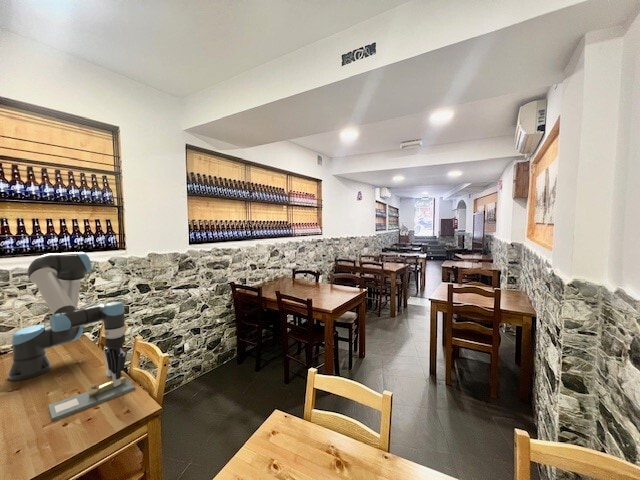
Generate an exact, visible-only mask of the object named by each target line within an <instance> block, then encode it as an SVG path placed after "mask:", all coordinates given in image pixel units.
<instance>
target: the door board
mask: <svg viewBox="0 0 640 480" xmlns="http://www.w3.org/2000/svg"><path fill="white" fill-rule="evenodd" d="M135 389H136V387H135V385H134V384H133V383H132V381H131V380H130V379H129V378H128V377H126V382H125V383H123V384H121V385H118V386H116V387H114V388H111V389H109V390H106V391H104V392H102V393H99V394H98V395H96V396H94V397H89V390H88V391H85V392H82V393H80V394H77V395H76V394H75V395H74V396H71V397H68V398H65V399H62V400H59V401H57V402H53V403H51V404H48V411H49V415H50V418H51V421H52V422H54V421H57V420H59V419H61V418H64V417H68V416H70V415H72V414H74V413H77V412H81V411H83V410H86V409H88V408H90V407H94V406H96V405H98V404H101V403H103V402H106V401H108V400H112V399H114V398H116V397H119V396H121V395H124V394H126V393H129V392H131V391H135Z"/></svg>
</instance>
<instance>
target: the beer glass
mask: <svg viewBox="0 0 640 480" xmlns="http://www.w3.org/2000/svg"><path fill="white" fill-rule="evenodd" d="M104 346H105V345H104ZM107 348H108V347H106V346H105V347H104V350H105V349H107ZM103 355H104V362H105V365H106V373H105V376H106V377H108V378H111V377H112V372H111V370H109V369H108V363H107V358H106V354H105V353H104V354H103Z"/></svg>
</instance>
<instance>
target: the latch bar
mask: <svg viewBox="0 0 640 480" xmlns="http://www.w3.org/2000/svg"><path fill="white" fill-rule="evenodd" d="M126 378H127V377H126V376H124V375H123V376H121V384H123V383H125V382H126ZM121 384H120V385H121ZM111 388H114V387H113V380H111V381H108V382H106V383H103V384H101V385H92V386H91V387H89V388H88V391H89V397H94V396H96V395H98V394H99V393H102V392H104V391H106V390H109V389H111Z"/></svg>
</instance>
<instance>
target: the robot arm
mask: <svg viewBox="0 0 640 480" xmlns="http://www.w3.org/2000/svg"><path fill="white" fill-rule="evenodd" d="M91 270H92V262H91V259H90V257H89V255H88V254H87V253H86V252H83V251H79V252H78V251H77V252H76V251H74V252H61V253H59V252H58V253H57V252H56V253H46V254H42V255H40V256H38V257H37V258H34V260H33V261H31V263H30V264H29V266H28V269H27V276H28V279H29V281H30V282H31V283H33V284H35V285H36V287H37V289H38V291H39V292H40V295H41V296H42V298H43V299H44V301H45V303H46V305H47V307H48V308H49V310H50V312H51V314H52V315H51V316H49V324H48V325H47V326H46V325H44V324H37V325H31V326H27V327H25V328H22V329H19V330H17V331H16V332H14V333H13V335H12V340H11V344H12V345H11V346H12V364H11V366H10V370H9V371H8V375H7V376H8V380H10V381H23V380H27V379H31V378H35V377H38V376H40V375H44V374H45V373H46V372H49V370H51V367H52V363H51V361H50V359H49V357H48V355H47V353H46V352H47V351H46V350H47V349H50V348H54V347H57V346H61V345H64V344H67V343H68V344H69V343H71V342H74V341H76V340H79V339H80V338H81V336H82V335H83V332H84V326H87V325H91V324H95V323H97V322H104V323H103V325H104V332H103V334H104V337H105V338H104V346H106V347H108V348H107V349H105V348H104V354H106V358H107V363H108V369H109V370H111V372H112V381H113V387H116V386H118V385H120V384H121V377H122V376H121V372H122V371H123V372H124V370H125V366H126V357H127V354H128V352H127V351H124V347H123V345H124V344H125V342H126V334H125V333H126V329H125V328H126V325H125V324H126V323H125V310H126V309H125V304H124V303H123V301H113V302H112V301H111V302H107V303H101V302H100V303H95V304H94V305H92V306H90V307H84V308H83V307H82V308H80V309H78V305H79V297H80V289H81V281H82V280H83V279H85V276H86V274H88V273H90V272H91Z"/></svg>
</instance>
